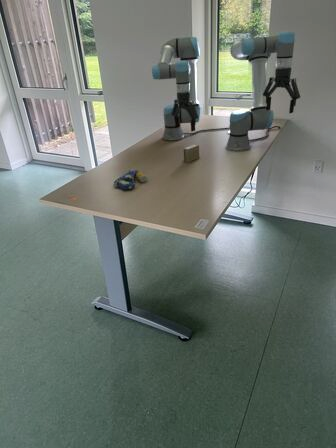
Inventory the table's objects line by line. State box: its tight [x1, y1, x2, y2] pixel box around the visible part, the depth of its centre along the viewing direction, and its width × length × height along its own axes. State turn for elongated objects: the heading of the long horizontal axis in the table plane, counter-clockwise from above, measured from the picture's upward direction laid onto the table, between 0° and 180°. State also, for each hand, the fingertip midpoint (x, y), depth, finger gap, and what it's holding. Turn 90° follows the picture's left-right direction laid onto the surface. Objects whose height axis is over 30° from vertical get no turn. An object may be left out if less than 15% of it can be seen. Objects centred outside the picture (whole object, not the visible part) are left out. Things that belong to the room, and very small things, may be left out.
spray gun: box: [112, 168, 148, 191], centre depth 183 cm, size 21×4×15 cm
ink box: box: [183, 144, 200, 163], centre depth 205 cm, size 10×4×8 cm, turn 131°
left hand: (185, 129), depth 200 cm, fingers open, 13 cm apart
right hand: (279, 111), depth 176 cm, fingers open, 13 cm apart
